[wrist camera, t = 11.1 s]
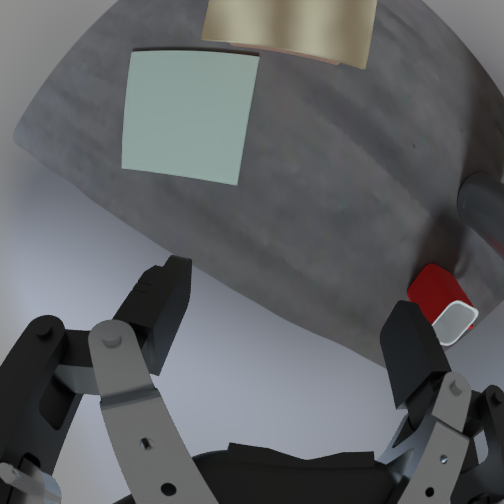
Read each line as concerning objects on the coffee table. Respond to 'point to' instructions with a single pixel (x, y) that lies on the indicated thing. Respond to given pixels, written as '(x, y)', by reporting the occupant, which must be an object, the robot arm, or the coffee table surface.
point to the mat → (188, 113)
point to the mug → (442, 303)
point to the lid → (296, 26)
